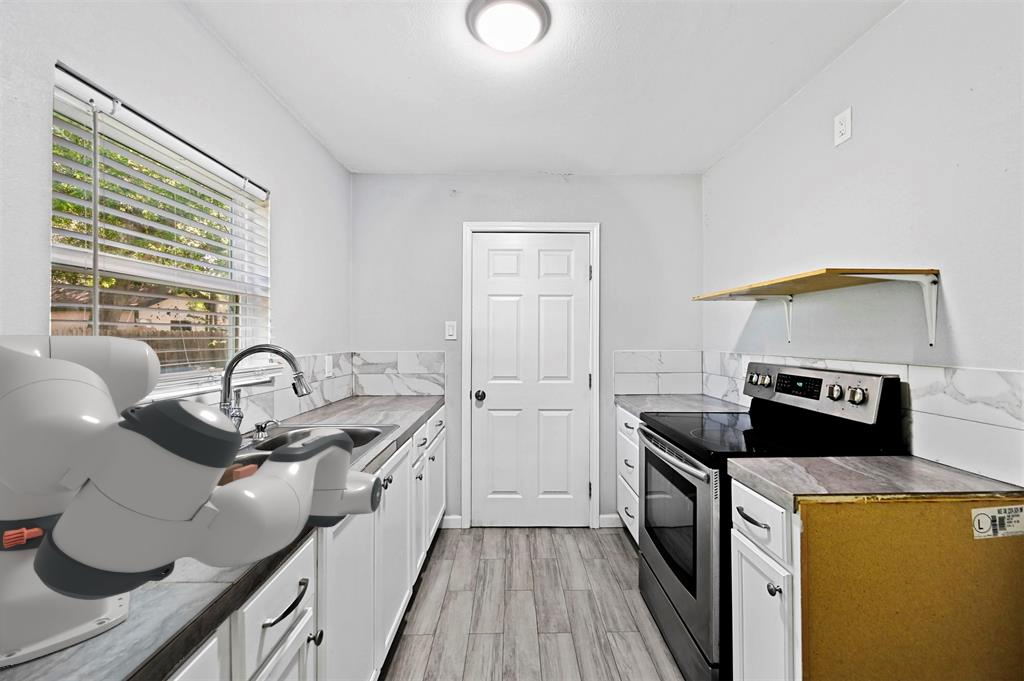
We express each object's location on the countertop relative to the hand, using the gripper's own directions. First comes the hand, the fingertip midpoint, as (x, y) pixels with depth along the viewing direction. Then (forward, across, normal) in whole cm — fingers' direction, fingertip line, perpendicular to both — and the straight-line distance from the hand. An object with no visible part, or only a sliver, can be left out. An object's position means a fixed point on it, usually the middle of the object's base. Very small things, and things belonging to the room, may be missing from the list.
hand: (256, 485), depth 101 cm
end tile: (+3, 0, -6) cm, 7 cm away
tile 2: (+7, 0, -6) cm, 9 cm away
